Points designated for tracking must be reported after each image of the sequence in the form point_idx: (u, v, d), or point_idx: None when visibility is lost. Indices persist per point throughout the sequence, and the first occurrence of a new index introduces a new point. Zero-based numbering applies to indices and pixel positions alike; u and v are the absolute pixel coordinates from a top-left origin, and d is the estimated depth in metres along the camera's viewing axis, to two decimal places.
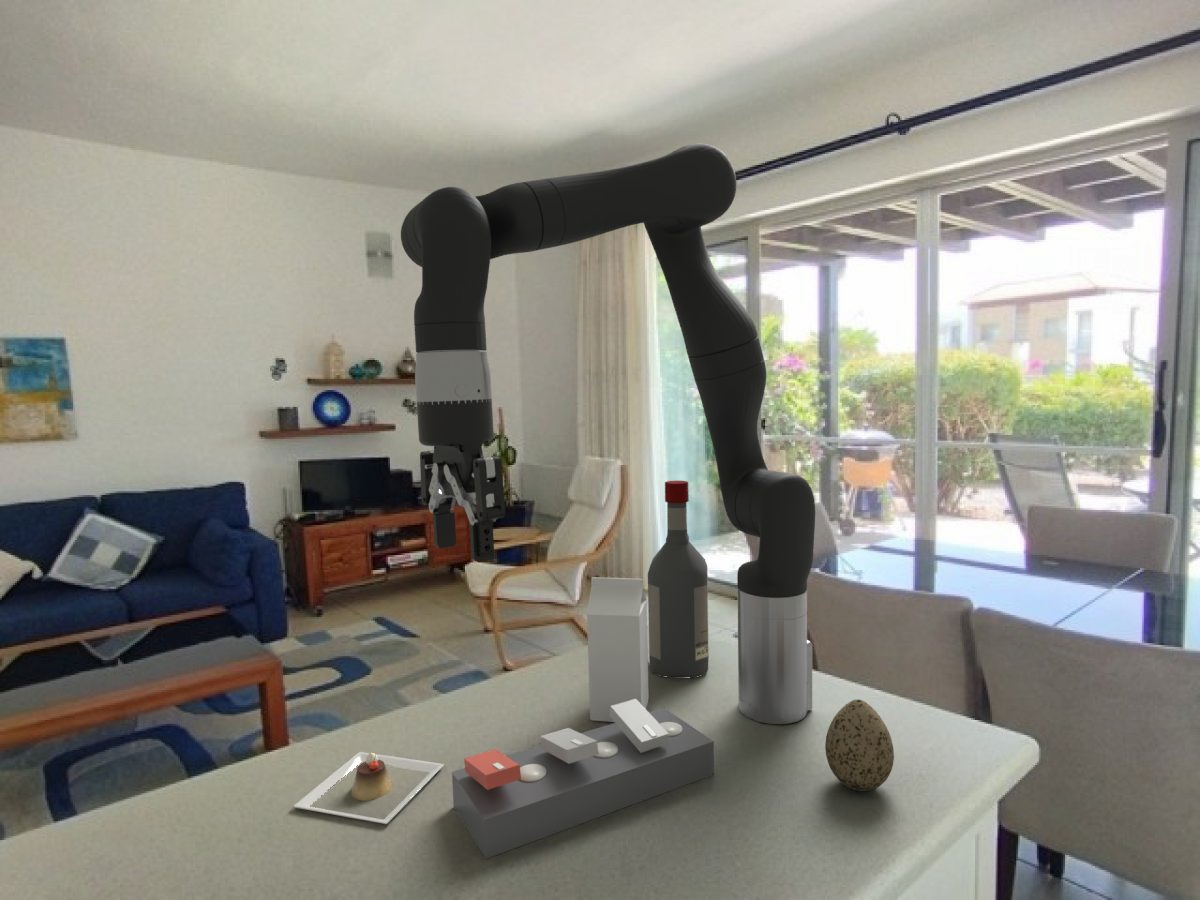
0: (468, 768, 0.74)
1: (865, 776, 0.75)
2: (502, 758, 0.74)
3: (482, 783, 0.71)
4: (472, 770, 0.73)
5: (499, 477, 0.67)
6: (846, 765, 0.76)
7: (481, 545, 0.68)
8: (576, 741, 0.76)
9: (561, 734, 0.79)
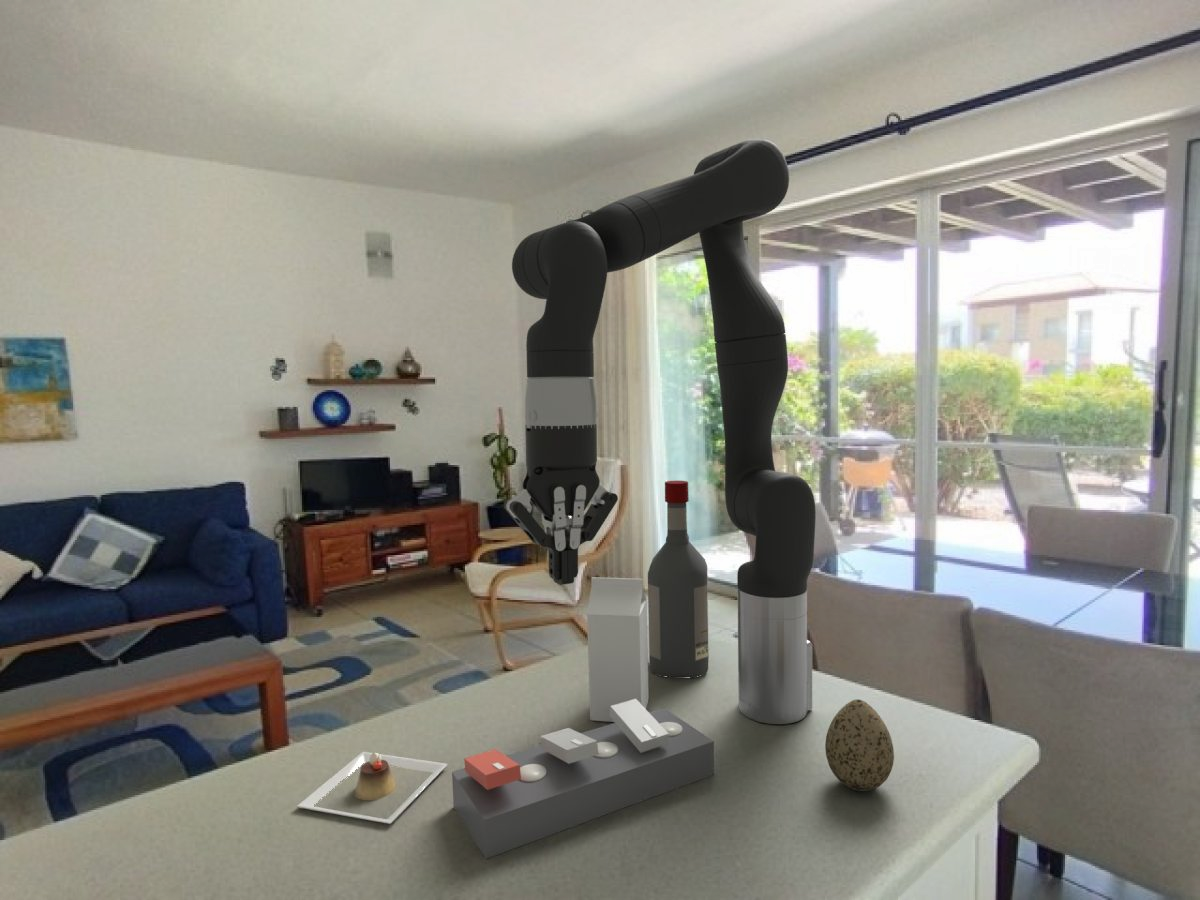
0: (468, 768, 0.74)
1: (865, 776, 0.75)
2: (502, 758, 0.74)
3: (482, 783, 0.71)
4: (472, 770, 0.73)
5: None
6: (846, 765, 0.76)
7: (577, 566, 0.76)
8: (576, 741, 0.76)
9: (561, 734, 0.79)
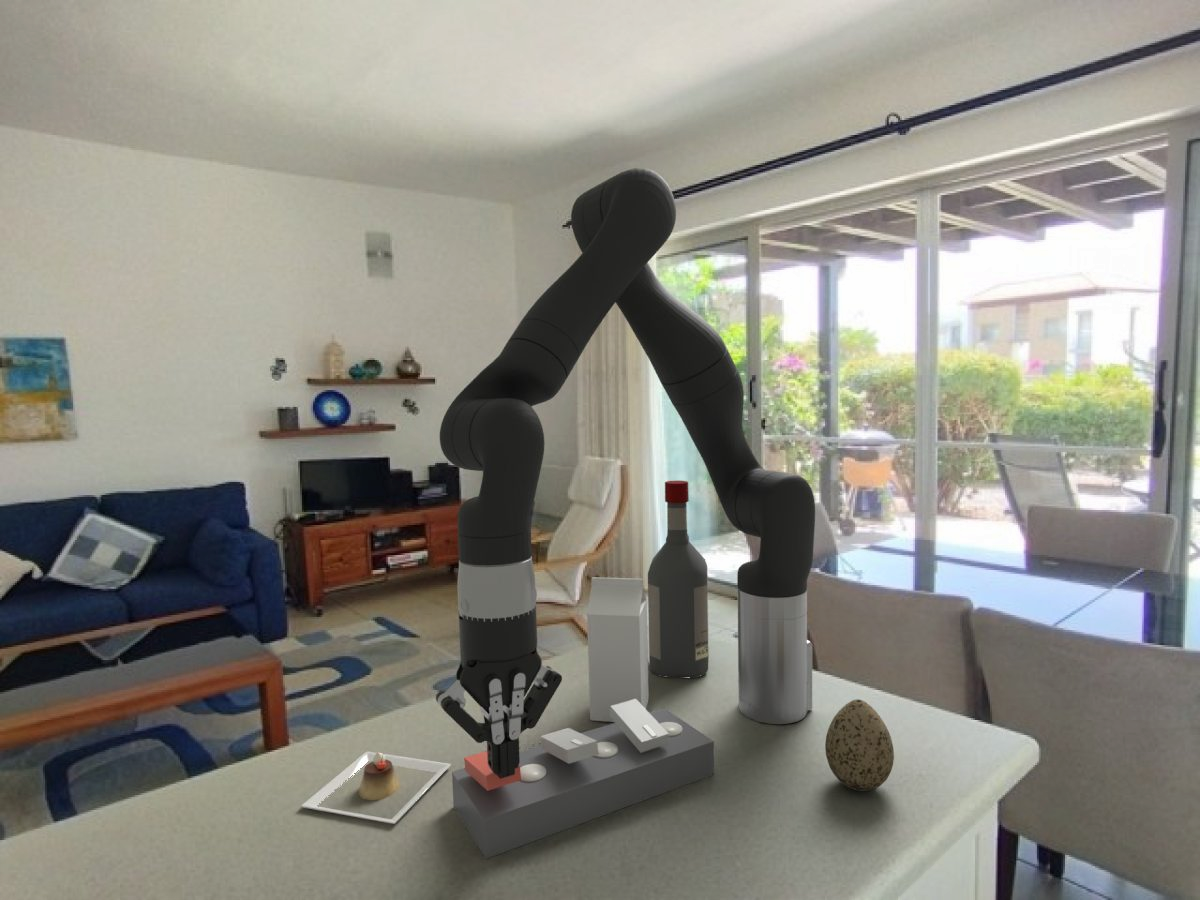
0: (468, 767, 0.74)
1: (865, 776, 0.75)
2: None
3: (482, 784, 0.71)
4: (472, 770, 0.73)
5: None
6: (846, 765, 0.76)
7: None
8: (576, 741, 0.76)
9: (561, 734, 0.79)
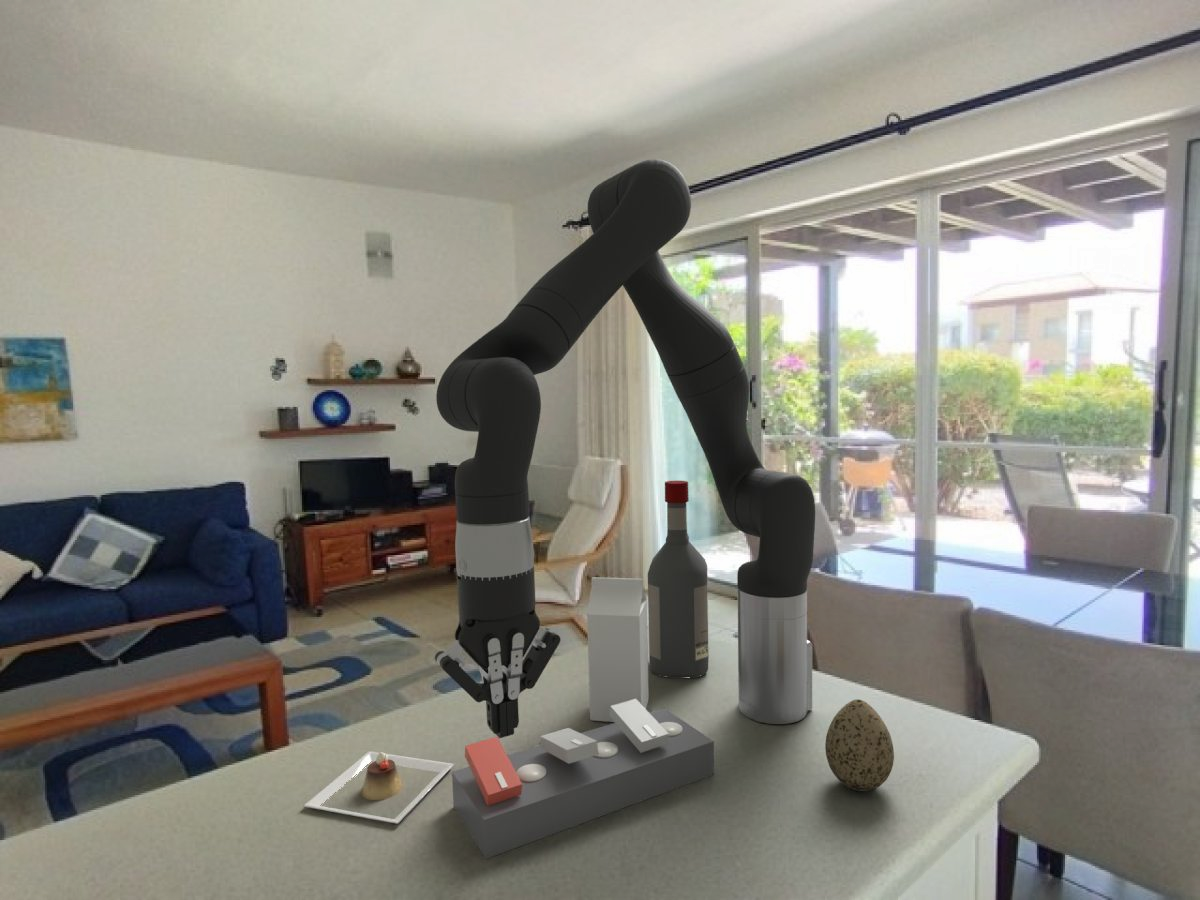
0: (469, 760, 0.74)
1: (865, 776, 0.75)
2: (504, 761, 0.73)
3: (482, 793, 0.71)
4: (473, 768, 0.73)
5: None
6: (846, 765, 0.76)
7: (518, 715, 0.70)
8: (576, 741, 0.76)
9: (561, 734, 0.79)
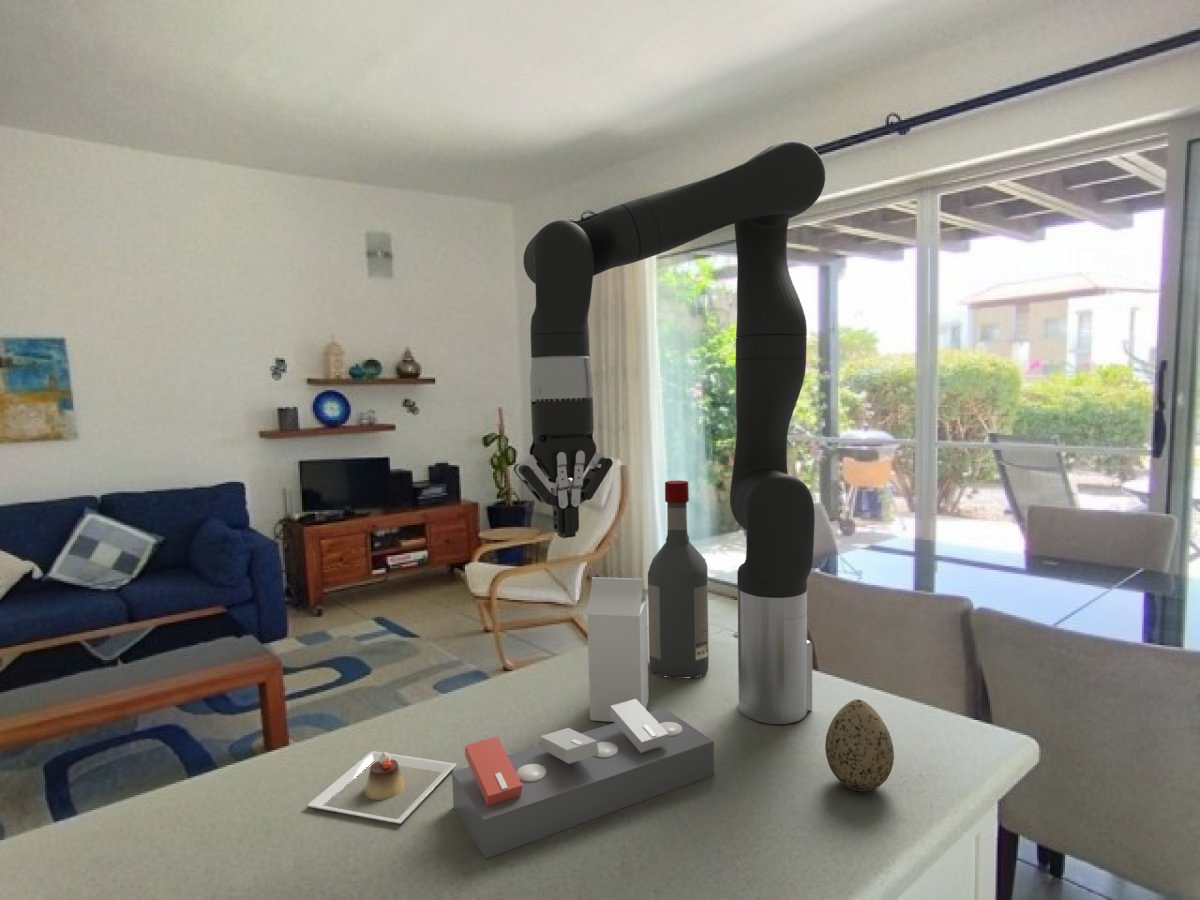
0: (469, 760, 0.74)
1: (865, 776, 0.75)
2: (504, 762, 0.73)
3: (482, 793, 0.71)
4: (473, 768, 0.73)
5: None
6: (846, 765, 0.76)
7: (578, 521, 0.87)
8: (576, 741, 0.76)
9: (561, 734, 0.79)
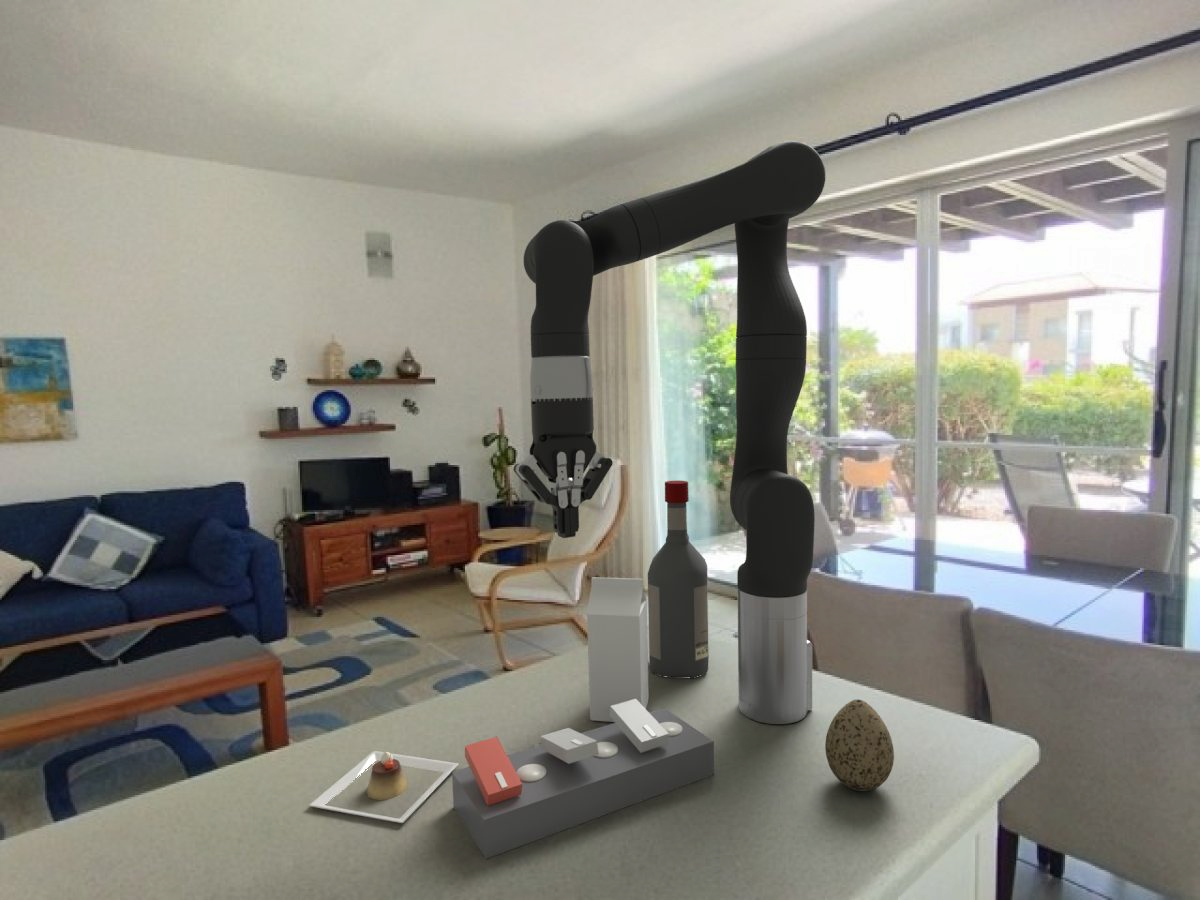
0: (469, 760, 0.74)
1: (865, 776, 0.75)
2: (504, 761, 0.73)
3: (482, 793, 0.71)
4: (473, 768, 0.73)
5: None
6: (846, 765, 0.76)
7: (578, 521, 0.87)
8: (576, 741, 0.76)
9: (561, 734, 0.79)
